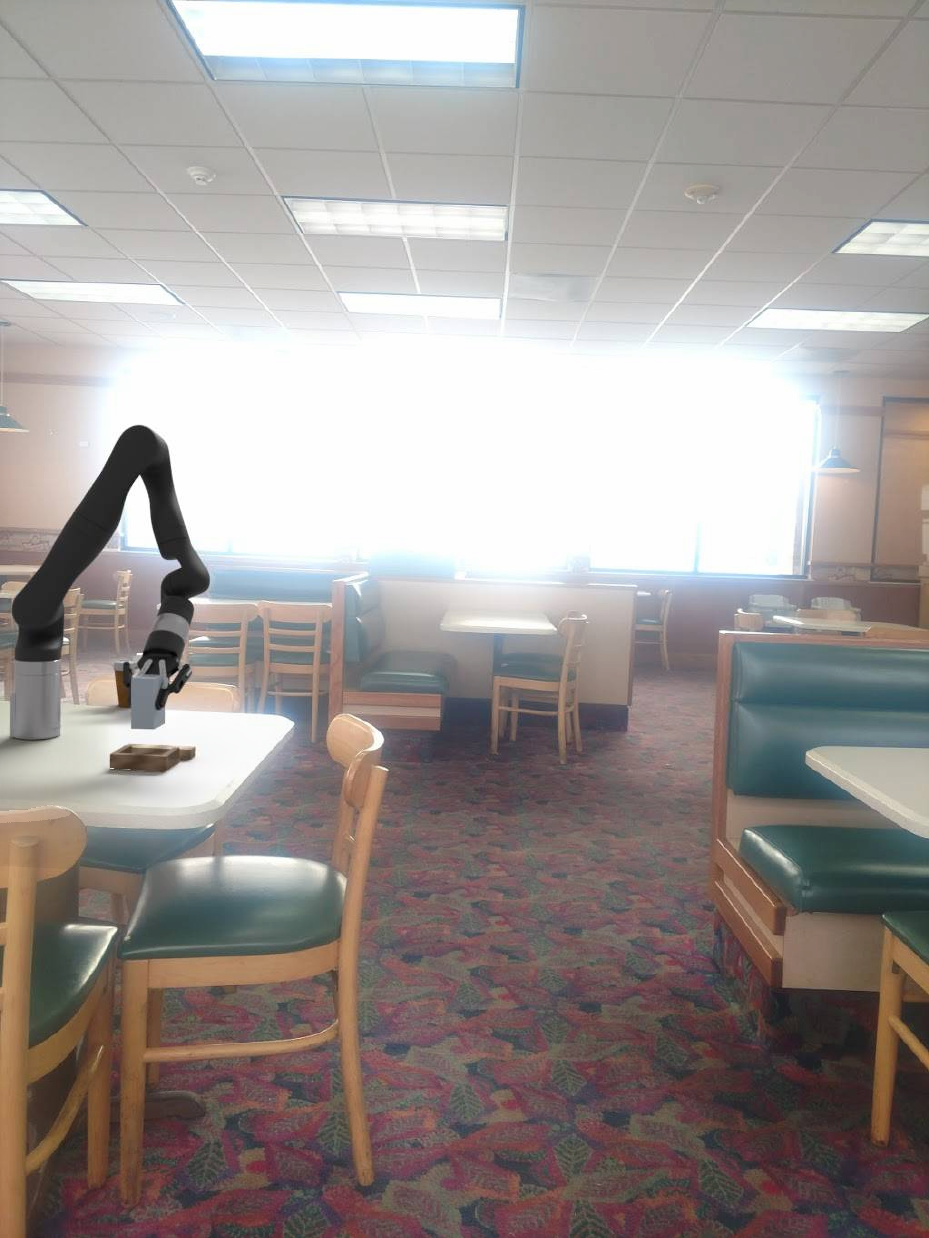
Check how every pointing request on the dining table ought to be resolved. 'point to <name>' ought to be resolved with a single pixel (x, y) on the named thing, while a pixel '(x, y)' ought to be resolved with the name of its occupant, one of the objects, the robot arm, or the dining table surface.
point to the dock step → (163, 750)
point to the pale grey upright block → (146, 702)
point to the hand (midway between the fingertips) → (144, 707)
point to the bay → (143, 760)
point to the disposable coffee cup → (121, 682)
